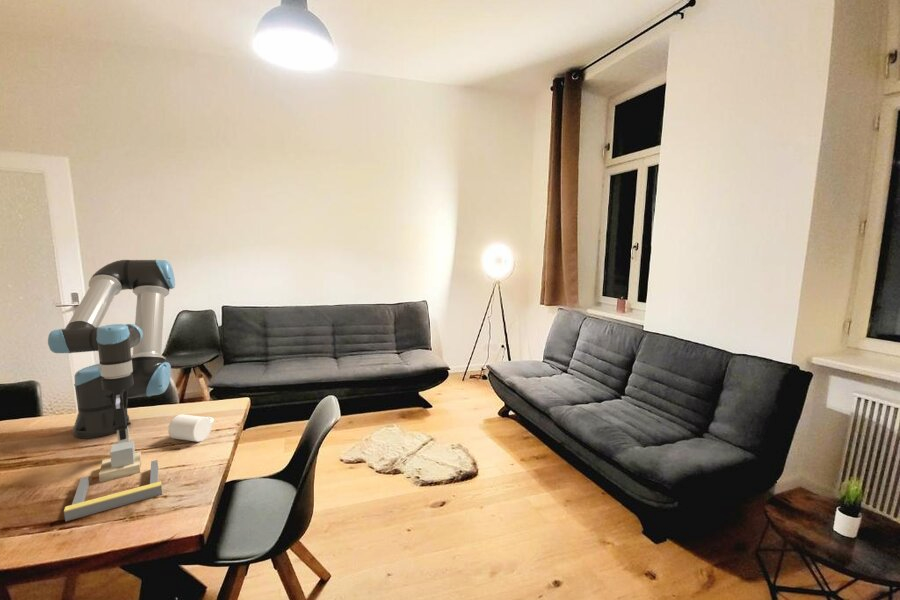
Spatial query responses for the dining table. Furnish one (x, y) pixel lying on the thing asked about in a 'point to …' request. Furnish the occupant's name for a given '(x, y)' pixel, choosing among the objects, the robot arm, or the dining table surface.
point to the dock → (111, 497)
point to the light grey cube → (122, 454)
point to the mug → (190, 427)
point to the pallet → (119, 469)
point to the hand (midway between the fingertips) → (124, 447)
